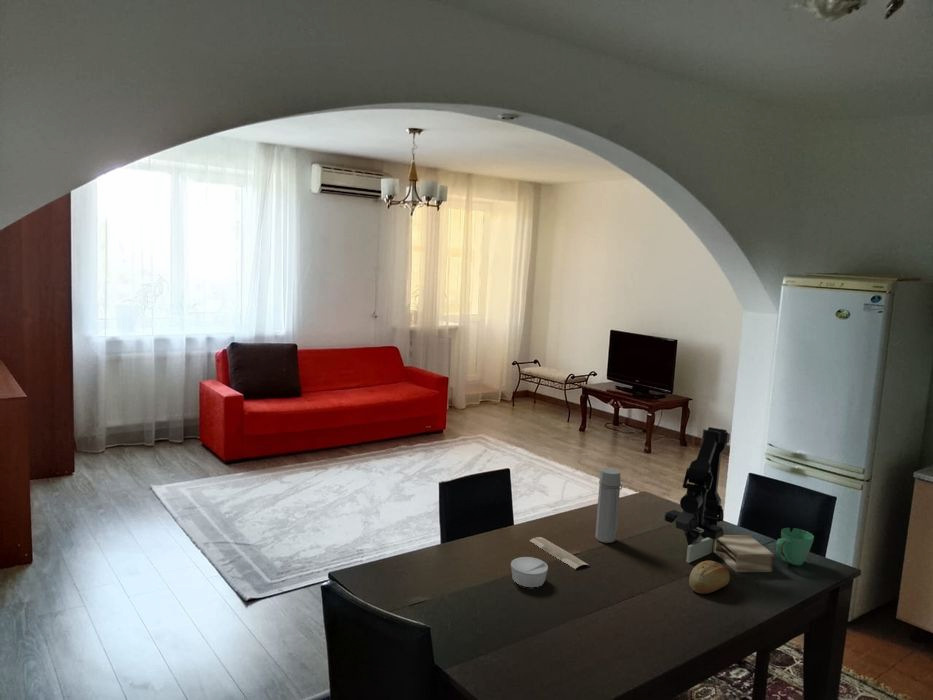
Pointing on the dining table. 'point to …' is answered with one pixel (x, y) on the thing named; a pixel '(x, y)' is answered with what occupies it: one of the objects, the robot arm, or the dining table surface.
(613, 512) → the water bottle
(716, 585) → the bread roll
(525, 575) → the ramekin
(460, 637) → the dining table surface
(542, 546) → the newspaper
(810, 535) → the mug
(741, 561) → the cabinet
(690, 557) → the door
